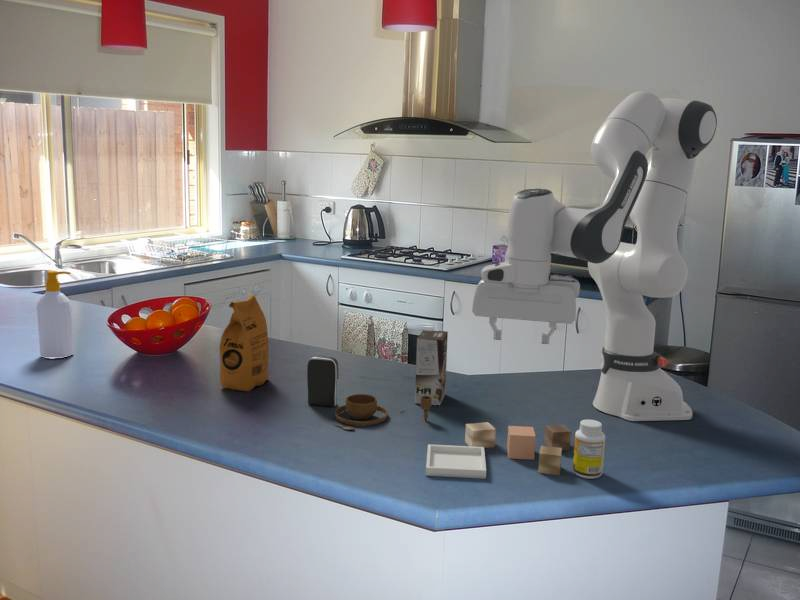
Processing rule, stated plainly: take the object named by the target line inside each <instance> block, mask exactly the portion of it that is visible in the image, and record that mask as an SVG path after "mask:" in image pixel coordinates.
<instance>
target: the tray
mask: <svg viewBox="0 0 800 600" xmlns="http://www.w3.org/2000/svg"><path fill="white" fill-rule="evenodd" d="M426 451H427V452H426V463H425V464H426V465H425V476H428V477H429V476H430V477H447V478H466V479H467V478H468V479H469V478H470V479H483V480H484V479H487V463H486V456H485V455H486V454H485V453H486V452H485V448H484V447H471V446H469V445H468V446H467V445H466V446H465V445H451V444H449V445H447V444H429V443H428V444H427V450H426Z"/></svg>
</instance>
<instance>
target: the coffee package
mask: <svg viewBox="0 0 800 600" xmlns="http://www.w3.org/2000/svg"><path fill="white" fill-rule="evenodd" d="M228 307H229V308H231V309H232V310H233V312H232V314H231V315H230V319H229V323H228V324H227V325H226V327H225V329H224V330H223V333H222V334H221V338H220V342H219V359H220V367H219V368H220V372H219V373H220V376H219V377H220V379H219V383H220V385H221V386H222V388H223V389H230V390H233V391H235V390H236V391H240V392H250V391H251V390H253V389H254V388H255V387H257V386H259V387H260V386H262V385H264V384H265V382H266V381H267V380H269V333H268V326H267V324H268V323H267V320H266V317H265V314H264V312H263V310H262V308H261V306H260V304H259V302H258V300H257V297H256V296H255V294H250V295H248V297H247V299H246V300H239V301H238V300H237V301H231V302H230V303H229V305H228Z"/></svg>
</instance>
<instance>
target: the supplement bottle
mask: <svg viewBox="0 0 800 600" xmlns="http://www.w3.org/2000/svg"><path fill="white" fill-rule="evenodd" d="M579 422H580V425H579V429H577V430H576V431H575V435H574V447H573V460H572V461H573V463H572V471H573V473H574V474H575V475H576V476H578V477H580V478H583V479H589V480H590V479H592V480H593V479H599V478H600V477H602V475H603V472H604V470H603V469H604V460H605V459H604V458H605V448H606V447H605V446H606V435H605V433H604V432H603V431H602V430H603V428H602V427H603V424H602V422H600V421H598V420H595V419H582V420H581V421H579Z"/></svg>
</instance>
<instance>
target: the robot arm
mask: <svg viewBox="0 0 800 600" xmlns="http://www.w3.org/2000/svg"><path fill="white" fill-rule="evenodd" d="M717 120H718V119H717V114H716V111H715V110H714V107H713V106H712V105H710V104H708V103H706V102H704V101H703V102H702V101H700V100H688V99H684V98H683V99H682V98H675V97H674V98H672V97H665V98H659V96H657V95H655V94H653V93H652V92H649V91H644V90H643V91H641V90H639V91H634V92H632V93H630V94H629V95H627V97H625V98H624V99H623V100H621V101H620V102H619V104H618V105H617V106H616V107H615V108H614V109H613V110H611V112H610V114H608V116H607V117H606V118H605V120H604V121H603V123H602V124H601V125H600V127H599V128H598V130H597V131H596V133H595V134H594V136H593V139H592V141H591V143H590V152H591V153H590V154H591V157H592V160H593V162H594V164H595V165H596V166H597V168H598V169H599V170H600V172H602V173H603V174H605V176H607V177H609V178H611V179H613V182H612V184H611V185H610V188H609V190H608V192H607V194H606V195H605V197H604V200H603V202H602V204H600V205H599V206H597V207H594V208H590V209H589V208H588V209H587V208H578V207H571V206H566V204H564V203H561V202H560V201H558V199H556V198H555V197H554V194H553V191H552V190H550V189H547V188H529V189H523V190H521V191H520V190H519V191H518V192H516V193H515V194H514V195H513V197H512V200H511V204H510V207H509V212H508V218H507V229H506V235H507V236H506V237H507V249H506V252H505V255H504V256H505V257H504V261H502V262H499V263H494V264H489V265H485V266H484V267H483V268H482V269H481V274H480V275H481V276H480V277H481V280H480V281H479V282H478V284H477V286H476V288H475V292H474V296H473V300H472V301H473V302H472V309H471V310H472V311H471V312H472V313H473V315H474V316H475V317H484V318H489V321H488V323H489V325H490V327H491V329H492V331H493V340H494V341H501V340H502V331H503V330H502V329H498V327H497V325H496V324H497V320H498V319H507V320H520V321H531V322H542V323H548V327H549V328H548V330H547V332H546V333H541V344H543V345H550V337H551V336H552V334H554V332H555V331H556V329H557V324H567V325H571V324H573V323H574V322H575V321H576V319H577V304H576V299H577V298H579V296H580V292H581V283H580V282H579V280H578V279H576V278H575V277H573V276H572V275H560V274H551V263H552V262H551V261H552V255H551V254H555V255H560V256H565V257H569V258H575V259H579V260H581V261H586V262H587V269H588V274H589V276H591V278H592V279H593V280H594V281H595V283H596V285H597V287H598V290H599V292H600V295H601V298H602V302H603V305H604V306H603V307H604V312H605V329H604V330H605V331H604V332H605V334H604V346H603V347H602V350H601V356H600V372H601V373H600V377H599V382H598V386H597V390H596V392H595V396H594V398H593V401H592V405H593V407H594V408H595V409H597V410H599V411H601V412H603V413H605V414H608V415H611V416H616V417H619V418H621V419H624V420H626V421H629V422H645V421H646V422H650V421H654V422H656V421H689V420H691V419H692V418H693V410H692V408H691V407H690V406H689V404H688V403H686V402H685V401H684V397H683V391H682V388H681V386H680V384H679V383H677V381H676V380H675V379H673V378H672V377H671V376H670V375H669V374H667V372H666V371H664V370H663V369H661V368H665V367H666V366H667V365H668V360H667V359H666V358H665V357H664V356H662V355H661V354H659V353H657V352H655V351H654V347H655V336H656V325H657V323H656V319H655V316H654V315H653V313H652V312H651V311H650V310H649V309H648V307H647V305H646V304H645V300H644V296H645V297H649V298H657V299H659V298H673V297H676V296H677V295H679V294H680V293H681V291H682V290H683V289H684V288H685V286H686V283H687V281H688V277H689V276H688V275H689V271H688V266H687V262H686V261H685V259H684V258H683V256H682V254H681V252H680V249H679V243H678V228H679V225H680V224H679V223H680V219H681V216H682V213H683V210H684V207H685V203H686V200H687V198H688V194H689V191H690V188H691V185H692V181H693V177H694V176H693V175H694V171H695V163H696V157H697V156H698V155H699V154H700V153H701V152H703V151H704V150H705V149H706V148H707V147H708V146H709V144H710V143H711V142H712V141H713V139H714V137H715V135H716V131H717V125H718V122H717ZM650 149H652V152H651V153H650V156H649V157H648V160H647V157H646V155H647V153H648V152H649V151H650ZM628 219H630V221H631V222H632V223H633V224H634V225H635V227H636V232H637V238H636V242H635V244H634V243H628V242H623V241H622V237H623V234H624V231H625V230H624V229H625V226H626V224H627V221H628Z"/></svg>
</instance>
